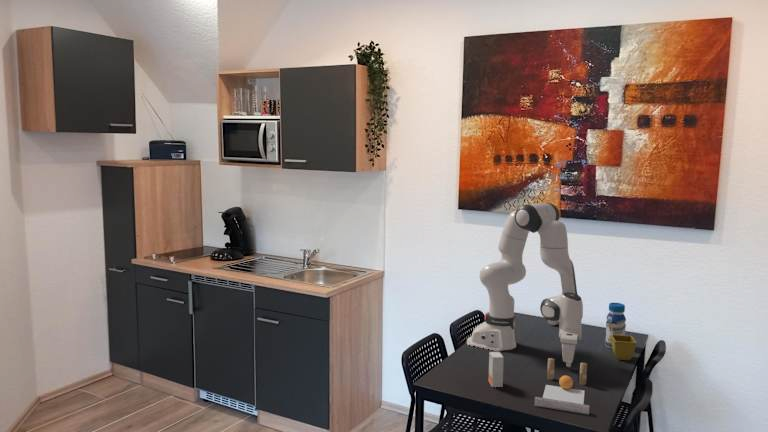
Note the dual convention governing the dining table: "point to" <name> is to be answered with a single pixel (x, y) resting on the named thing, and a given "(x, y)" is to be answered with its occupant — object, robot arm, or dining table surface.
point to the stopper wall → (562, 405)
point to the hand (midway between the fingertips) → (568, 365)
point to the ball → (566, 382)
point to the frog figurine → (552, 322)
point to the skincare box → (496, 369)
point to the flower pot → (623, 346)
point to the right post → (583, 373)
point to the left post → (550, 369)
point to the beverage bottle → (615, 322)
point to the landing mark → (564, 394)
